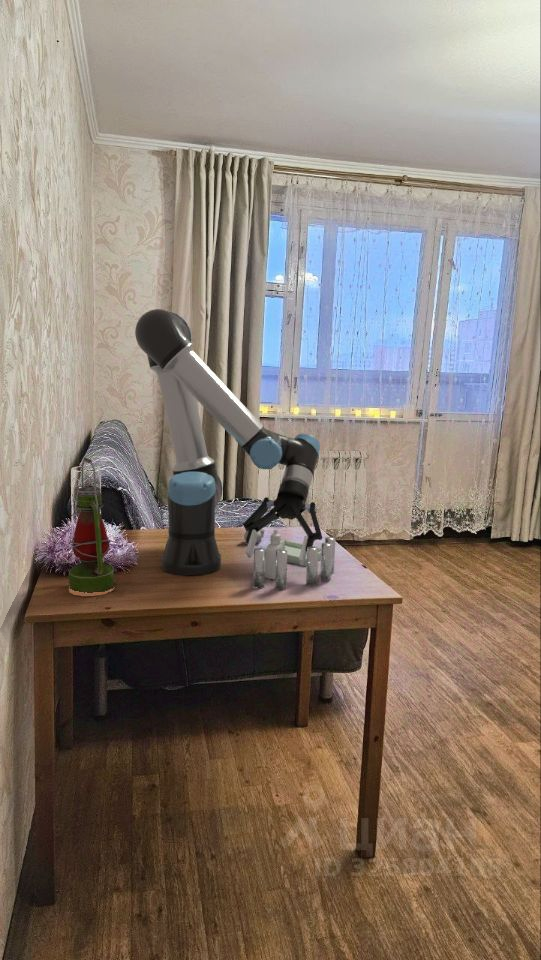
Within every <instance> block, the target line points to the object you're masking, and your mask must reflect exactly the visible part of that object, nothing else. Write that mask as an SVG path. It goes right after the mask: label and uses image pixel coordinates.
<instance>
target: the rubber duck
mask: <svg viewBox="0 0 541 960" xmlns="http://www.w3.org/2000/svg"><path fill="white" fill-rule="evenodd" d="M265 531H266V530H265V529H264V528H262V529H261V530H259V531H258V532H257V534H258V537H257V540H256V544H257V543H260V542H261V541H262V539H263V538H264V535H265ZM248 532H249V531H246V530H245V533H244V536H243V540H244V541H246V538H247V535H248Z"/></svg>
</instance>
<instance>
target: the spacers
mask: <svg viewBox="0 0 541 960" xmlns="http://www.w3.org/2000/svg"><path fill="white" fill-rule="evenodd" d="M317 547H318V546H315V547H308V548H307V566H306V570H305V571H306V574H305V576H306V577H305V585H306V586H307V587H316V586H317V585H318V569H319V568H318V567H319V565H318V564H319V563H318V548H317ZM263 548H264V547H263ZM263 548H262V547H254V550H253V568H252V569H253V573H252V574H253V579H252V587H253V586H254V587H257V588H256V589H262V588H261V587H263V588H265V549H263ZM321 548H322V549H321V560H320V571H319V572H320V574H319V575H320V577H319V579H320V581H322V582H331V581H332V575H333V574H334V573H335V559H336V558H335V555H336V537H334V536H326V537H324V542H322V543H321ZM287 571H288V562H287V550H277V551H276V575H275V579H274V581H275V582H274V583H275V584H274V585H275V586H274V589H275V588H276V589H275V590H277V589H278V590H277V591H285V590H287V574H288V572H287ZM254 587H253V588H254Z"/></svg>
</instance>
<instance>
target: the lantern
mask: <svg viewBox="0 0 541 960" xmlns="http://www.w3.org/2000/svg"><path fill="white" fill-rule="evenodd" d="M85 462H86V463H88V464H90V466H91V468H92V472H93V485H92V479H91V477H90V475H89V476H87V480H86V481H87V485H84V464H85ZM80 469H81V487H79V488H78V489H77V499H76V501H77V502H76V503H77V505H75V508H76V509H79V510H80V512H79V514H78V517H77V519H76V521H77V522H76V524H75V530H74V536H73V538H72V539H71V541H70V543H71V545H72V546H71V547H70V548H71V549H72V552H73V555H74V556H75V557H76V558H78V560H79V561H81V562H80V563H78V564H76V565H75V566H73V567H71V568H70V569H69V570H68V586H70V589H72V590H74V591H79V592H84V593H85V592H87V593H93V592H105V591H108V590H110V589H113V588H114V587H115V585H116V583H115V582H116V581H115V568H114V566H113V565H112V564H111V563H110V562H108V561H104V557H105V556H106V555H107V554H108V553H109V550H110V543H111V541H110V538H109V536H108V535H107V534H108V533H107V530H106V525H105V523H104V521H103V517H102V515H101V512H100V509H102V508H103V507H104V503H103V502H102V500H103V499H102V493H101V492H102V489H101V487H100V488H99V487H97V479H96V470H95V466H94V463H93V461H92V460H91V459H89V458H87V457H85V458H83V460H82V463H81V468H80Z"/></svg>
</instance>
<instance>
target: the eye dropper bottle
mask: <svg viewBox="0 0 541 960" xmlns="http://www.w3.org/2000/svg"><path fill="white" fill-rule="evenodd" d="M281 536H282V534H280V533H279V532H278V528H274V530H273V533H271V534H270V543H269V544H268V545H267V546H266V547H267V548H266V547H265V548H266V552H265V574H264V579H267V578H268V580H271V579H273V580H275V575H276V551H277V550H285V546H284V545H283V544H281V543H280V542H281V541H282V540H281V538H282V537H281Z"/></svg>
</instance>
